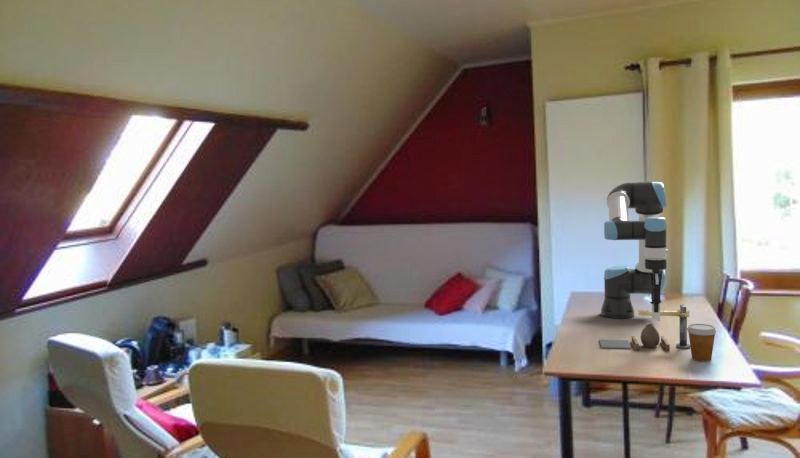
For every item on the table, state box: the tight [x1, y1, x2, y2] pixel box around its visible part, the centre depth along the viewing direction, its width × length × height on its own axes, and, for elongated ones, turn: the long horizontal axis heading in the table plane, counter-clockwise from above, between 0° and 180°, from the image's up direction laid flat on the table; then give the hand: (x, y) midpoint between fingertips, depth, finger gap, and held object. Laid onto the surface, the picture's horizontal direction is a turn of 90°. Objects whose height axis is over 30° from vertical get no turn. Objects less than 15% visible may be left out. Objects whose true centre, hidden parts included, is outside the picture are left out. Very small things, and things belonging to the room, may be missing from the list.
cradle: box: [631, 335, 671, 352], centre depth 239 cm, size 12×12×2 cm
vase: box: [640, 323, 661, 349], centre depth 238 cm, size 7×7×9 cm
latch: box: [638, 303, 690, 318], centre depth 236 cm, size 5×18×4 cm, turn 77°
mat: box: [598, 339, 632, 350], centre depth 243 cm, size 11×11×1 cm
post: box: [675, 317, 691, 350], centre depth 235 cm, size 5×5×12 cm
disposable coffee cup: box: [687, 323, 717, 362], centre depth 220 cm, size 10×10×12 cm
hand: (655, 320), depth 231 cm, fingers closed
